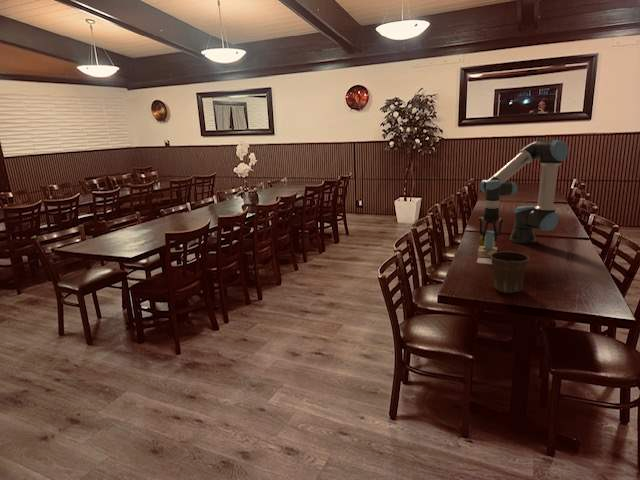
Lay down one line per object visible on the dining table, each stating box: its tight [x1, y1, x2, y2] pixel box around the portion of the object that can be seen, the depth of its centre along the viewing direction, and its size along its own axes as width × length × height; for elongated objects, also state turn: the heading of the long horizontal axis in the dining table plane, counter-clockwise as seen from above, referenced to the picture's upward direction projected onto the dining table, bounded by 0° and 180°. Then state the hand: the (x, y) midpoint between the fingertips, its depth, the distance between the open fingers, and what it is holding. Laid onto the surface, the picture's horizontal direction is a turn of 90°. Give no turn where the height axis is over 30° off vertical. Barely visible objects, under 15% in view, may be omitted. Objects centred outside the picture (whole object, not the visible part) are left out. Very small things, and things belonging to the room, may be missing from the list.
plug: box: [485, 230, 494, 250], centre depth 245 cm, size 4×4×14 cm
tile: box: [476, 257, 493, 266], centre depth 236 cm, size 9×9×1 cm
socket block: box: [477, 245, 498, 259], centre depth 247 cm, size 10×10×4 cm
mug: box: [479, 235, 497, 247], centre depth 257 cm, size 12×10×10 cm
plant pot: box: [490, 251, 530, 294], centre depth 195 cm, size 16×16×16 cm
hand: (489, 246), depth 246 cm, fingers closed on plug, 4 cm apart
